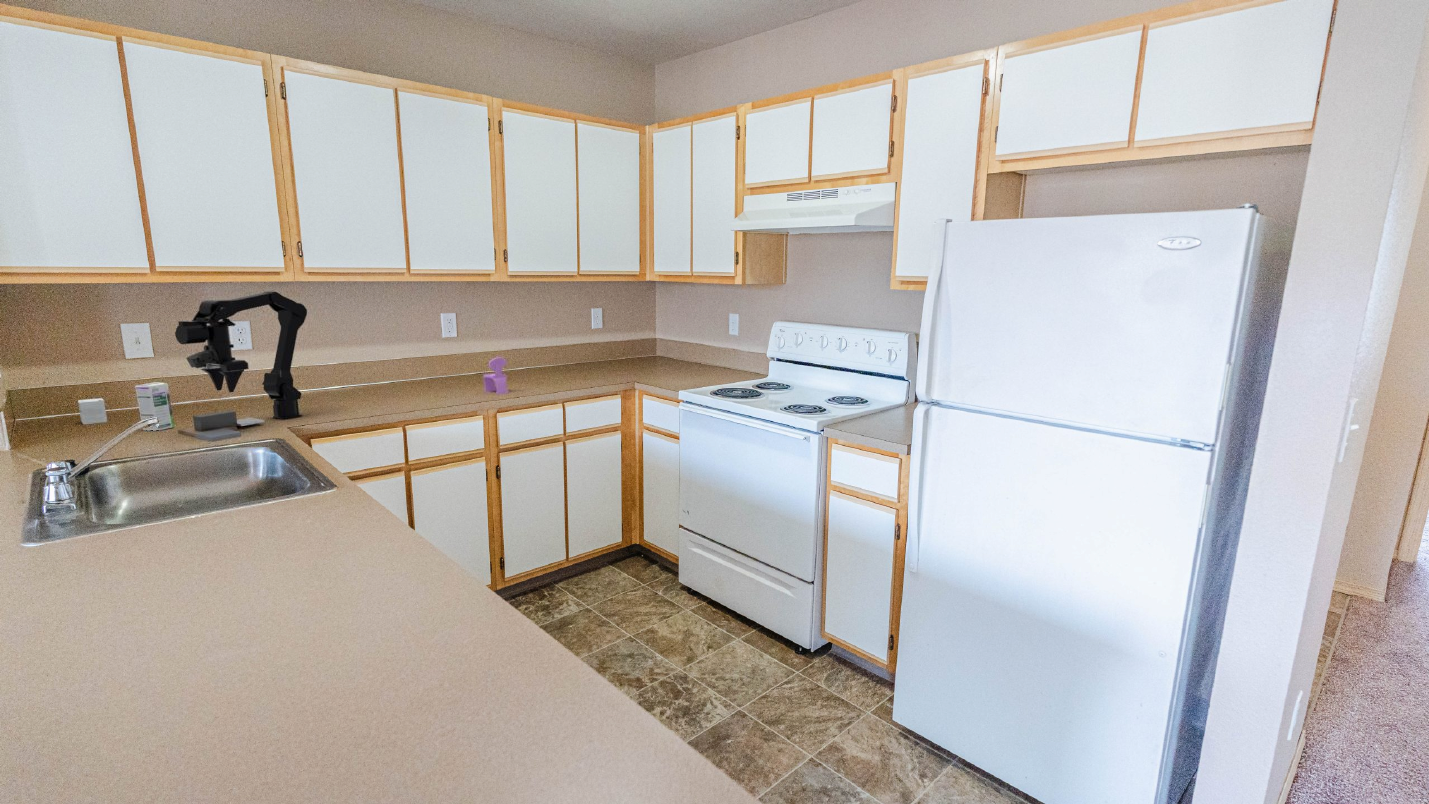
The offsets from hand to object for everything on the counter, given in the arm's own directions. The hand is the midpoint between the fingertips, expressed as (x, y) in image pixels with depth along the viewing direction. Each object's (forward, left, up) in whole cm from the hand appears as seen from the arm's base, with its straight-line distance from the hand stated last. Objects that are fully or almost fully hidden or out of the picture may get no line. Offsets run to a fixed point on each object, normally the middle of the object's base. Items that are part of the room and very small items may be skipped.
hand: (225, 391), depth 210 cm
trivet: (+5, -2, -12) cm, 13 cm away
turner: (0, 0, -11) cm, 11 cm away
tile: (+4, +9, -12) cm, 15 cm away
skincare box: (+16, -49, -12) cm, 53 cm away
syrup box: (+11, -19, -12) cm, 25 cm away
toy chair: (-90, +23, -12) cm, 94 cm away
